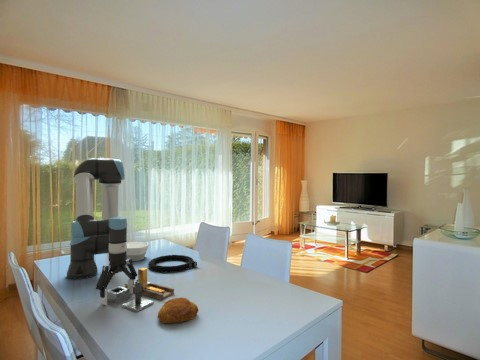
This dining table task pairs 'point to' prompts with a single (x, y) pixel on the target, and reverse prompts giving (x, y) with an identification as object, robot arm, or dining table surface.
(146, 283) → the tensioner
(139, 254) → the bowl
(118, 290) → the square hollow frame
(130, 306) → the square plate with peg
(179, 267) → the cable lock
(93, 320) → the dining table surface
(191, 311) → the croissant
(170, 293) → the rail
